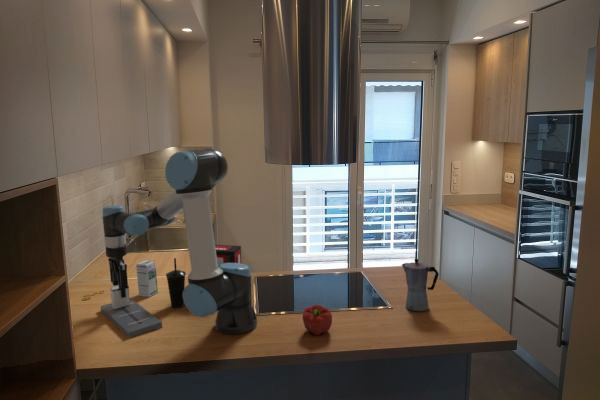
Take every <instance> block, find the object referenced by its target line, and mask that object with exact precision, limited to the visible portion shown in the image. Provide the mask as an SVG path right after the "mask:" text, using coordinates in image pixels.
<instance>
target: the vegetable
mask: <svg viewBox="0 0 600 400" xmlns="http://www.w3.org/2000/svg"><path fill="white" fill-rule="evenodd" d="M332 315H333V314H332V313H331V311H330V310H329V308H327V307H325V306H323V305H320V304H314V305H311V306H309V307H306V308H304V311H303V312H302V320H303V321H302V322H303V324H304V325H303V326H304V328H305V329H306V331H308V332H309V333H312V334H313V335H314V336H318V335H319V336H320V335H321V334H322V333H323V334H325V333H327V332H328V331H330V329H331V327H332V322H333V316H332Z"/></svg>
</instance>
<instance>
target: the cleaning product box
mask: <svg viewBox="0 0 600 400" xmlns="http://www.w3.org/2000/svg"><path fill="white" fill-rule="evenodd" d="M215 249H216V256H217V264H218V266H219V265H220V264H223V263H241V264H242V246H241V245H231V244H229V245H227V244H226V245H225V244H215Z"/></svg>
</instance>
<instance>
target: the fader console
mask: <svg viewBox="0 0 600 400" xmlns="http://www.w3.org/2000/svg"><path fill="white" fill-rule="evenodd" d="M100 311H101V313H102V314H103V315H104V316H105V317H106V318H108V320H109V321H111V322H112V323H113V324H114V325H115V326H116V327H117V328H118V330H120V331H121V332H122V334H124V335H125V336H126V337H127V338H128V339H130V338H133V337H136V336H139V335H142V334H146V333H149V332H152V331H155V330H157V329H160V328H162V327H163V325H162V321H161V320H160V319H158V318H157V317H156V316H154V315H153V314H152V313H151V312H149V311H148V310H147V309H146V308H144V307H143V306H141V305H140V304H139V303H138V302H136V301H135V300H134V299H133V298H132V297H131V298H130V305H128V306H125V307H121V308H117V309H114V308H113V307H112V302H110V303H107V304H104V305H101V306H100Z"/></svg>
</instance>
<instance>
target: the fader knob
mask: <svg viewBox="0 0 600 400" xmlns="http://www.w3.org/2000/svg"><path fill="white" fill-rule="evenodd" d="M109 288H110V299H111V303H112V307H113V308H114V309H117V308H121V307H125V306H128V305H130V286H129V285H128V288H127V289H126V296H127V304H126V305H122V306H120V305H119V294H118V290H117V289H119V286H115V287H113V286H111V287H109Z"/></svg>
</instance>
